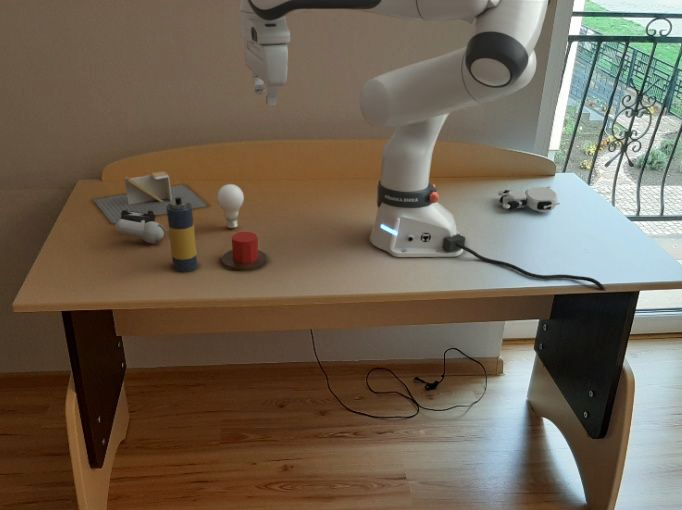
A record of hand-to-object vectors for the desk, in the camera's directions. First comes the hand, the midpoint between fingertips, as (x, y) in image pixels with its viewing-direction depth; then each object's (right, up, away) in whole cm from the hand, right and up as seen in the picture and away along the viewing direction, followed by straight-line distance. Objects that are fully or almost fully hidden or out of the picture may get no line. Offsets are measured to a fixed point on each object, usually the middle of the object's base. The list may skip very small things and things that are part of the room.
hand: (265, 99), depth 143 cm
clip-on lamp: (-28, -25, +21) cm, 43 cm away
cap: (-6, -31, +11) cm, 34 cm away
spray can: (-18, -34, +8) cm, 39 cm away
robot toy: (+66, -14, +42) cm, 79 cm away
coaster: (-6, -32, +11) cm, 35 cm away
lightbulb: (-11, -22, +26) cm, 36 cm away
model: (-34, -14, +38) cm, 53 cm away
